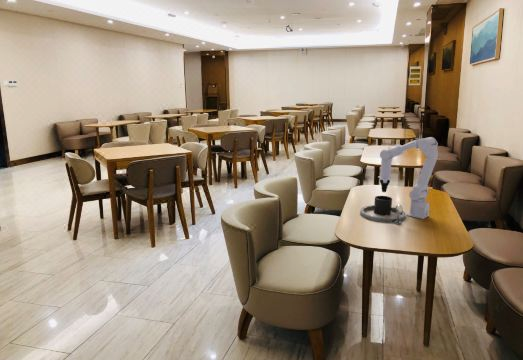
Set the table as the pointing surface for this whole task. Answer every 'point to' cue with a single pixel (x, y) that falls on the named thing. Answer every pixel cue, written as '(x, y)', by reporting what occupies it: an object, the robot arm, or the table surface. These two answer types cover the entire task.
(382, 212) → the mug
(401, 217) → the ring
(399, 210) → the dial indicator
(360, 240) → the table surface
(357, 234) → the table surface
